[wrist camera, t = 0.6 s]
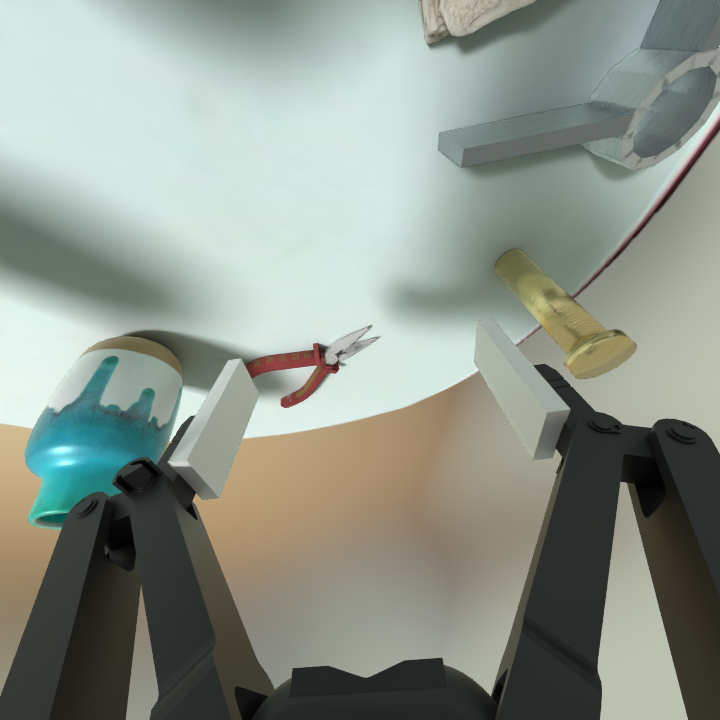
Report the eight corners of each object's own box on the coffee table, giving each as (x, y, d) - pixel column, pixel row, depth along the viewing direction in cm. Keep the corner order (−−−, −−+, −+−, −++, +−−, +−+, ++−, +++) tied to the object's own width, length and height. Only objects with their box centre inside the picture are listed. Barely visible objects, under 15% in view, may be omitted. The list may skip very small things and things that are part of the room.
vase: (89, 368, 36) (-10, 542, 24) (87, 308, 30) (-46, 500, 18) (184, 384, 42) (143, 534, 29) (199, 336, 36) (155, 499, 23)
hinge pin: (494, 248, 33) (590, 348, 23) (535, 239, 34) (650, 335, 23) (485, 283, 37) (564, 384, 27) (522, 275, 37) (615, 372, 27)
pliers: (388, 348, 44) (392, 361, 43) (285, 399, 50) (285, 412, 48) (350, 300, 36) (353, 313, 34) (233, 367, 42) (231, 382, 40)
